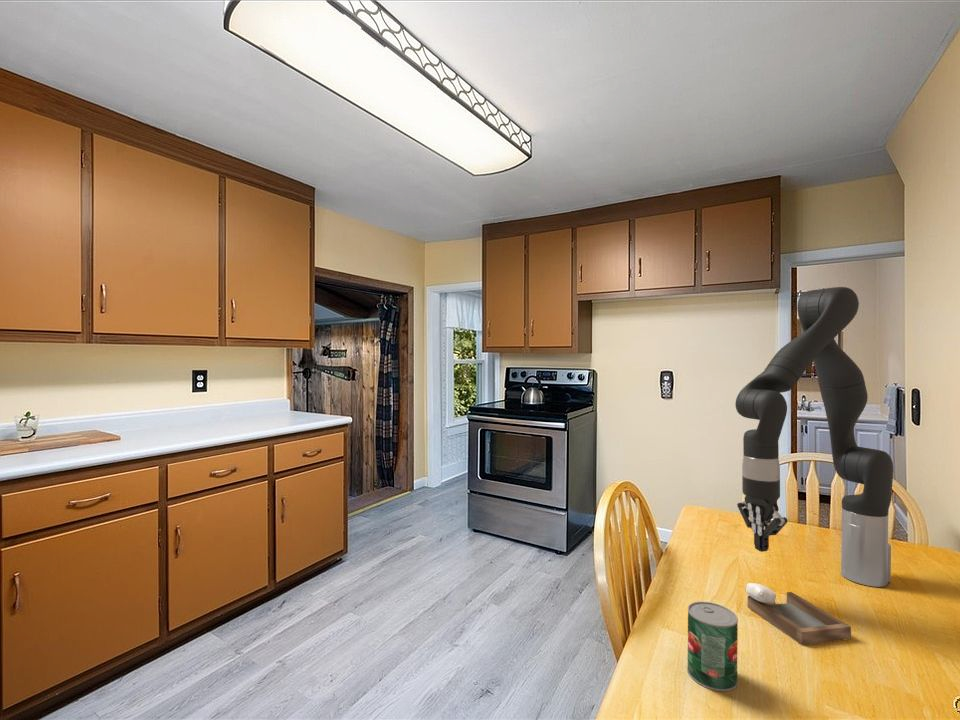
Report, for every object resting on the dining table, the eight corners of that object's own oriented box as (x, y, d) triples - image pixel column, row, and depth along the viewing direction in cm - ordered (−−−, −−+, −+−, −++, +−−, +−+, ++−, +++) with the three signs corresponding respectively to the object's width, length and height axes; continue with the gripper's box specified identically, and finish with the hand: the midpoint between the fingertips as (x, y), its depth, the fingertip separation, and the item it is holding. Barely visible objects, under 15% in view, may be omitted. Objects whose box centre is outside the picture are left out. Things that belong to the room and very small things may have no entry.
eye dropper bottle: (764, 611, 107) (765, 612, 98) (742, 589, 111) (741, 588, 101) (778, 598, 107) (780, 597, 97) (756, 576, 110) (756, 574, 101)
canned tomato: (747, 690, 79) (748, 625, 79) (702, 692, 78) (703, 626, 78) (720, 660, 87) (720, 600, 87) (678, 662, 86) (679, 602, 86)
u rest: (791, 602, 108) (791, 591, 108) (850, 639, 94) (851, 626, 94) (747, 607, 106) (747, 596, 106) (801, 645, 92) (802, 632, 92)
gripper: (799, 482, 104) (799, 560, 104) (753, 468, 117) (753, 538, 117) (769, 484, 102) (770, 564, 102) (726, 469, 115) (726, 540, 115)
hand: (761, 550), depth 110 cm, fingers closed
